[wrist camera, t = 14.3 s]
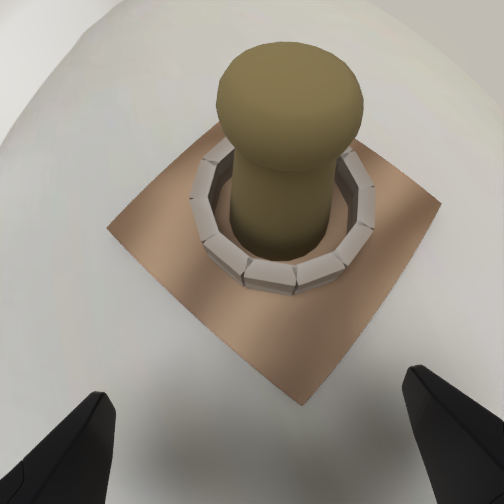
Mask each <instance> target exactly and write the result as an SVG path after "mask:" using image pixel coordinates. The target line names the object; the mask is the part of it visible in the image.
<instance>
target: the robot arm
mask: <svg viewBox="0 0 504 504" xmlns="http://www.w3.org/2000/svg"><path fill="white" fill-rule="evenodd" d="M402 392H403V396H404V399H405V403H406V407H407V411H408V415H409V419H410V423H411V427H412V430H413V434H414V437H415V439H416V442H417V445H418V448H419V450H420V453H421V456H422V459H423V462H424V465H425V467H426V470H427V473H428V476H429V479H430V482H431V485H432V488H433V491H434V495H435V498H436V501H437V504H504V421H503V420H502V419H500V418H499V417H497V416H496V415H494V414H493V413H491V412H490V411H489V410H487V409H486V408H484V407H483V406H481V405H480V404H478V403H477V402H475V401H474V400H473V399H471V398H470V397H468V396H467V395H465V394H464V393H462V392H461V391H460V390H458V389H457V388H455V387H454V386H452V385H451V384H449V383H448V382H446V381H445V380H444V379H442V378H441V377H439V376H438V375H436V374H435V373H433V372H432V371H430V370H429V369H428V368H426V367H425V366H423V365H415V366H411V367H409V368H408V370H407V373H406V375H405V378H404V381H403V384H402ZM115 421H116V410H115V408H114V406H113V404H112V402H111V401H110V399H109V397H108V395H107V394H106V393H105V392H97V391H94V392H92V393H90V394H89V395H88V396H87V397H86V398H85V399H84V400H83V401H82V402H81V403H80V404H79V405H78V406H77V407H76V408H75V409H74V410H73V411H72V412H71V413H70V414H69V415H68V416H67V417H66V418H65V419H64V420H62V421H61V422H60V423H59V424H58V425H57V426H56V427H55V428H54V429H53V430H52V431H51V432H50V433H49V434H48V435H47V436H46V437H45V438H44V439H43V440H42V441H41V442H40V443H39V444H38V445H37V446H36V447H35V448H34V449H33V450H32V451H31V452H30V453H29V454H28V455H26V456H25V457H24V458H23V461H22V460H21V461H20V462H19V463H18V464H17V465H16V466H15V467H14V468H13V469H12V470H11V471H10V472H9V473H8V474H7V475H5V476H4V477H3V478H2V479H1V480H0V504H105V499H106V493H107V487H108V480H109V475H110V469H111V463H112V457H113V445H114V432H115Z"/></svg>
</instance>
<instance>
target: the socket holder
mask: <svg viewBox="0 0 504 504" xmlns="http://www.w3.org/2000/svg"><path fill="white" fill-rule="evenodd" d="M234 150H235V147H234V146H233V145H232V144H231V143H230V142H229V140H228V139H227V137H226V135H225V134H224V132H223V129H222V126H221V123H220V121H219V122H218V123H217V124H216V125H214V126H213V127H212V128H211V129H210V130H208V131H207V132H206V133H205V134H204V135H203V136H201V137H200V138H199V139H198V140H197V141H196V142H194V143H193V144H192V145H191V146H190V147H189V148H188V149H187V150H185V151H184V152H183V153H182V154H181V155H180V156H179V157H178V158H177V159H175V160H174V161H173V162H172V163H171V164H170V165H169V166H168V167H167V168H166V169H165V170H164V171H162V172H161V173H160V174H159V175H158V176H157V177H156V178H155V179H154V180H153V181H152V182H151V183H150V184H149V185H148V186H147V187H146V188H145V189H144V190H143V191H142V192H141V193H140V194H139V195H138V196H137V197H136V198H135V199H134V200H133V201H132V202H131V203H130V204H129V205H128V206H127V207H126V208H125V209H124V210H123V211H122V212H121V213H120V214H119V215H118V216H117V217H116V218H115V219H114V220H113V221H112V222H111V224H110V225H109V226H108V227H107V229H108V230H109V232H110V233H111V234H112V235H113V236H114V237H115V238H116V239H117V240H118V241H119V242H120V243H121V244H122V245H123V246H124V247H125V248H126V249H127V250H128V251H129V253H130V254H131V255H132V256H133V257H134V258H135V259H136V260H137V261H138V262H139V263H140V264H141V265H142V266H143V267H144V268H145V269H146V270H147V271H148V272H149V273H150V274H151V275H152V276H153V277H154V278H155V279H156V280H157V281H158V282H159V283H160V284H161V285H162V286H164V287H165V288H166V289H167V290H168V291H169V292H170V293H171V294H172V295H173V296H174V297H175V298H176V299H177V300H178V301H179V302H180V303H181V304H182V305H183V306H185V307H186V308H187V309H188V310H189V311H190V312H191V313H192V314H193V315H194V316H195V317H196V318H197V319H199V320H200V321H201V322H202V323H203V324H204V325H205V326H206V327H207V328H209V329H210V330H211V331H212V332H213V333H214V334H215V335H216V336H217V337H219V338H220V339H221V340H222V341H223V342H224V343H225V344H227V345H228V346H229V347H230V348H231V349H232V350H233V351H235V352H236V353H237V354H238V355H239V356H240V357H242V358H243V359H244V360H245V361H246V362H248V363H249V364H250V365H251V366H252V367H254V368H255V369H256V370H257V371H258V372H260V373H261V374H262V375H263V376H264V377H266V378H267V379H268V380H269V381H271V382H272V383H273V384H274V385H275V386H277V387H278V388H279V389H280V390H282V391H283V392H284V393H286V394H287V395H288V396H289V397H291V398H292V399H293V400H294V401H296V402H297V403H298V404H300V405H301V406H303V405H304V404H305V403H306V401H307V400H308V399H309V398H310V397H311V396H312V394H313V393H314V392H315V391H316V390H317V388H318V387H319V386H320V385H321V384H322V382H323V381H324V380H325V379H326V378H327V376H328V375H329V374H330V373H331V371H332V370H333V369H334V368H335V366H336V365H337V364H338V363H339V361H340V360H341V359H342V358H343V356H344V355H345V354H346V352H347V351H348V350H349V348H350V347H351V346H352V344H353V343H354V342H355V340H356V339H357V338H358V336H359V335H360V334H361V332H362V331H363V330H364V328H365V327H366V325H367V324H368V323H369V321H370V320H371V318H372V317H373V315H374V314H375V313H376V311H377V310H378V308H379V307H380V305H381V304H382V302H383V301H384V299H385V298H386V296H387V295H388V293H389V292H390V290H391V289H392V287H393V286H394V284H395V283H396V281H397V280H398V278H399V277H400V275H401V273H402V272H403V270H404V269H405V267H406V265H407V264H408V262H409V260H410V259H411V257H412V256H413V254H414V252H415V250H416V249H417V247H418V245H419V244H420V242H421V240H422V239H423V237H424V235H425V233H426V232H427V230H428V228H429V226H430V224H431V223H432V221H433V219H434V217H435V215H436V213H437V211H438V210H439V208H440V206H441V203H440V202H439V201H438V200H437V199H435V198H434V197H433V196H432V195H431V194H429V193H428V192H427V191H426V190H424V189H423V188H422V187H421V186H419V185H418V184H417V183H416V182H414V181H413V180H412V179H410V178H409V177H408V176H407V175H405V174H404V173H403V172H401V171H400V170H399V169H397V168H396V167H395V166H393V165H392V164H391V163H389V162H388V161H386V160H385V159H384V158H382V157H381V156H379V155H378V154H377V153H375V152H374V151H372V150H371V149H369V148H368V147H367V146H365V145H364V144H362V143H361V142H359V141H358V140H356V139H355V138H354V140H353V141H352V142H351V144H350V145H349V146H348V148H347V149H346V150H345V151H344V152H343V154H342V155H341V156H340V157H338V158H337V159H336V168H335V177H334V186H333V194H332V202H331V209H330V217H329V223H328V226H327V230H326V234H325V236H324V238H323V239H322V240H321V242H320V243H319V245H318V246H317V247H316V248H315V249H314V250H312V251H311V252H309V253H308V254H307V255H305V256H304V257H301V258H297V259H294V260H291V261H270V260H266V259H263V258H260V257H257V256H255V255H254V254H252V253H251V252H249V251H248V250H246V249H245V248H243V247H242V245H241V244H240V243H239V241H238V240H237V239H236V237H235V236H234V234H233V231H232V228H231V225H230V222H229V214H230V198H231V186H232V173H233V162H234Z"/></svg>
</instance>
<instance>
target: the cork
mask: <svg viewBox="0 0 504 504" xmlns="http://www.w3.org/2000/svg"><path fill="white" fill-rule="evenodd" d="M216 109H217V114H218V118H219V121H220V123H221V126H222V129H223V132H224V134H225V135H226V137H227V139H228V140H229V142H230V143H231V144H232V145H233V146H234V147H235V150H234V162H233V173H232V186H231V198H230V214H229V222H230V225H231V228H232V231H233V234H234V236H235V237H236V239H237V240H238V241H239V243H240V244H241V245H242V247H243V248H245V249H246V250H248V251H249V252H251V253H252V254H254V255H255V256H257V257H260V258H263V259H266V260H270V261H291V260H294V259H297V258H301V257H304V256H305V255H307V254H308V253H309V252H311V251H312V250H314V249H315V248H316V247H317V246H318V245H319V243H320V242H321V240H322V239H323V238H324V236H325V234H326V230H327V226H328V223H329V217H330V209H331V202H332V194H333V186H334V177H335V168H336V159H337V158H338V157H340V156H341V155H342V154H343V152H344V151H345V150H346V149H347V148H348V146H349V145H350V144H351V142H352V141H353V140H354V138H355V137H356V136H357V133H358V131H359V128H360V126H361V121H362V115H363V95H362V92H361V89H360V86H359V83H358V81H357V79H356V77H355V75H354V73H353V72H352V71H351V70H350V68H349V67H348V66H347V65H346V63H345V62H343V61H342V60H340V59H339V58H338V57H336V56H335V55H333V54H332V53H330V52H327V51H325V50H323V49H320V48H318V47H316V46H312V45H307V44H302V43H298V42H275V43H268V44H262V45H259V46H256V47H254V48H251V49H248V50H246V51H244V52H243V53H242V54H240V55H239V56H238V57H236V58H235V59H234V60H233V61H232V62H231V64H230V65H229V67H228V68H227V70H226V71H225V73H224V74H223V76H222V77H221V79H220V81H219V87H218V93H217V101H216Z"/></svg>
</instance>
